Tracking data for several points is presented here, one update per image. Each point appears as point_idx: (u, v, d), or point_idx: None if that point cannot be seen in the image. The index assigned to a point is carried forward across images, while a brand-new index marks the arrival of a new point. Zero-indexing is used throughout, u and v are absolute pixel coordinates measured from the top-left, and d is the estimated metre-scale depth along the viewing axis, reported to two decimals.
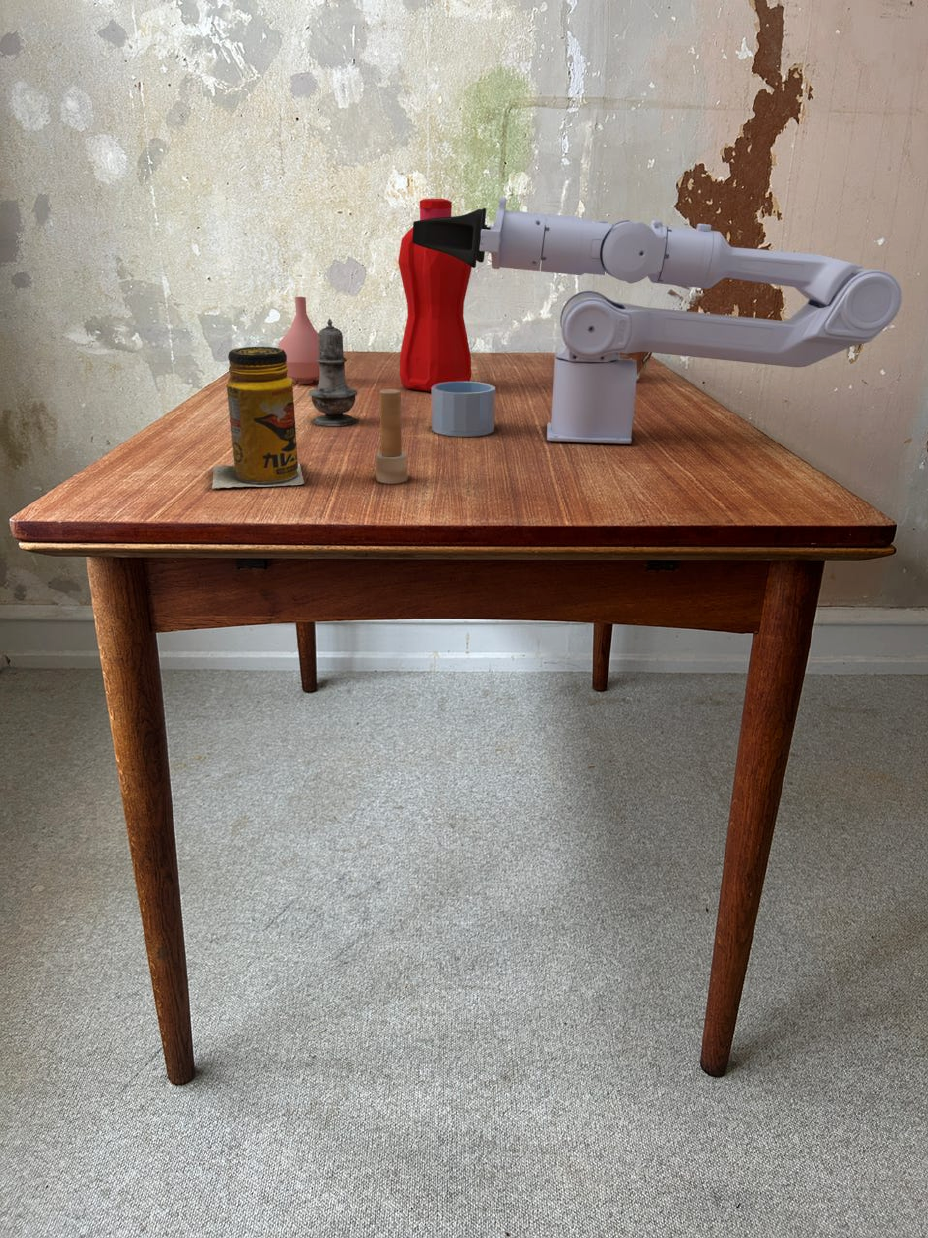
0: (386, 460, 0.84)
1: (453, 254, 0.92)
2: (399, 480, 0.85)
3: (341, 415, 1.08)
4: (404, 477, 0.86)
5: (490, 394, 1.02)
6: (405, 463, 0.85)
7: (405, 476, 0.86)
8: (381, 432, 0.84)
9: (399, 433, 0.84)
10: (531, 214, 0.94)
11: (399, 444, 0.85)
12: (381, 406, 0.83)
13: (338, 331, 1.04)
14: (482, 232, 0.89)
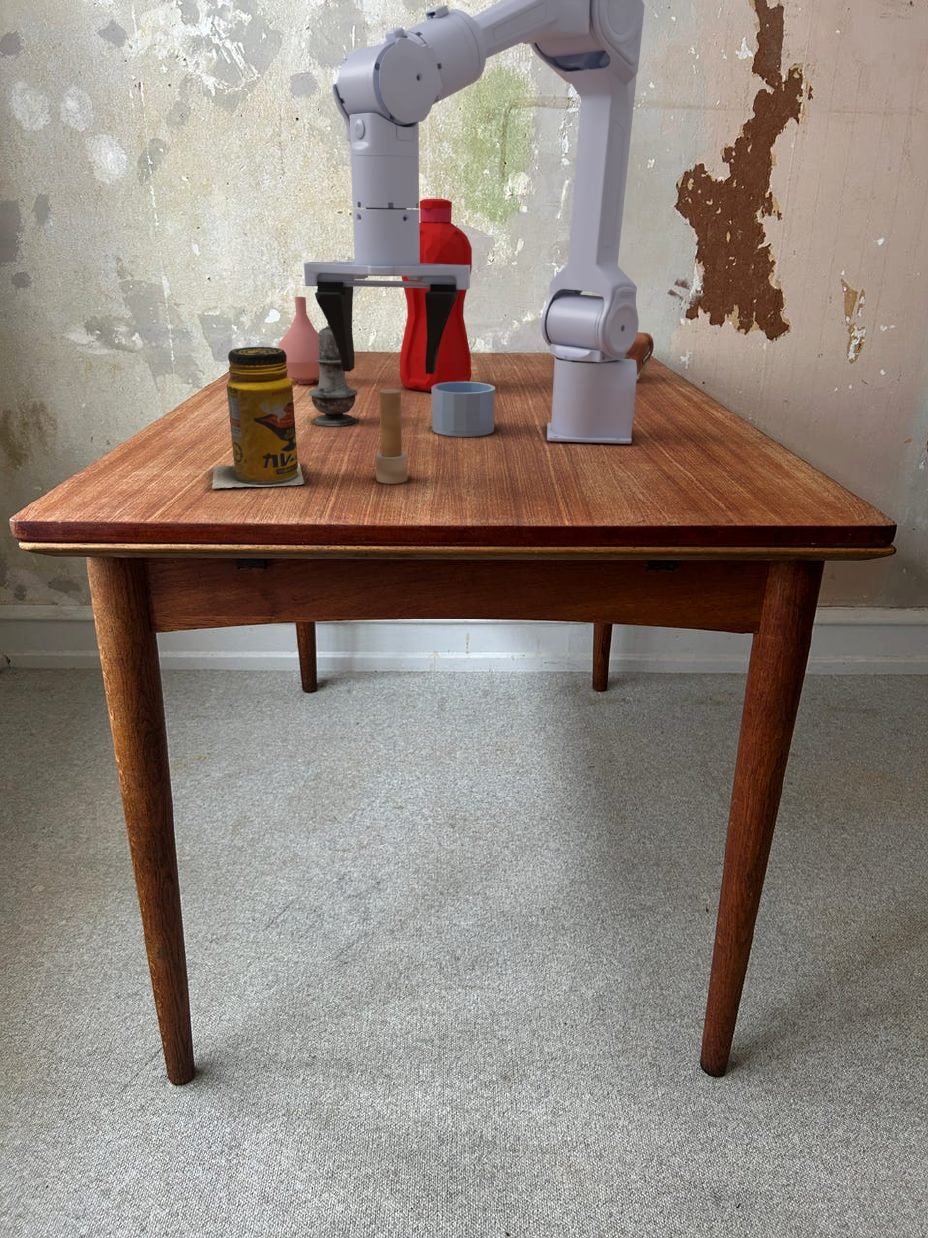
0: (386, 460, 0.84)
1: (447, 318, 0.81)
2: (399, 480, 0.85)
3: (341, 415, 1.08)
4: (404, 477, 0.86)
5: (490, 394, 1.02)
6: (405, 463, 0.85)
7: (405, 476, 0.86)
8: (381, 432, 0.84)
9: (399, 433, 0.84)
10: (391, 229, 0.75)
11: (399, 444, 0.85)
12: (381, 406, 0.83)
13: None
14: (468, 287, 0.78)
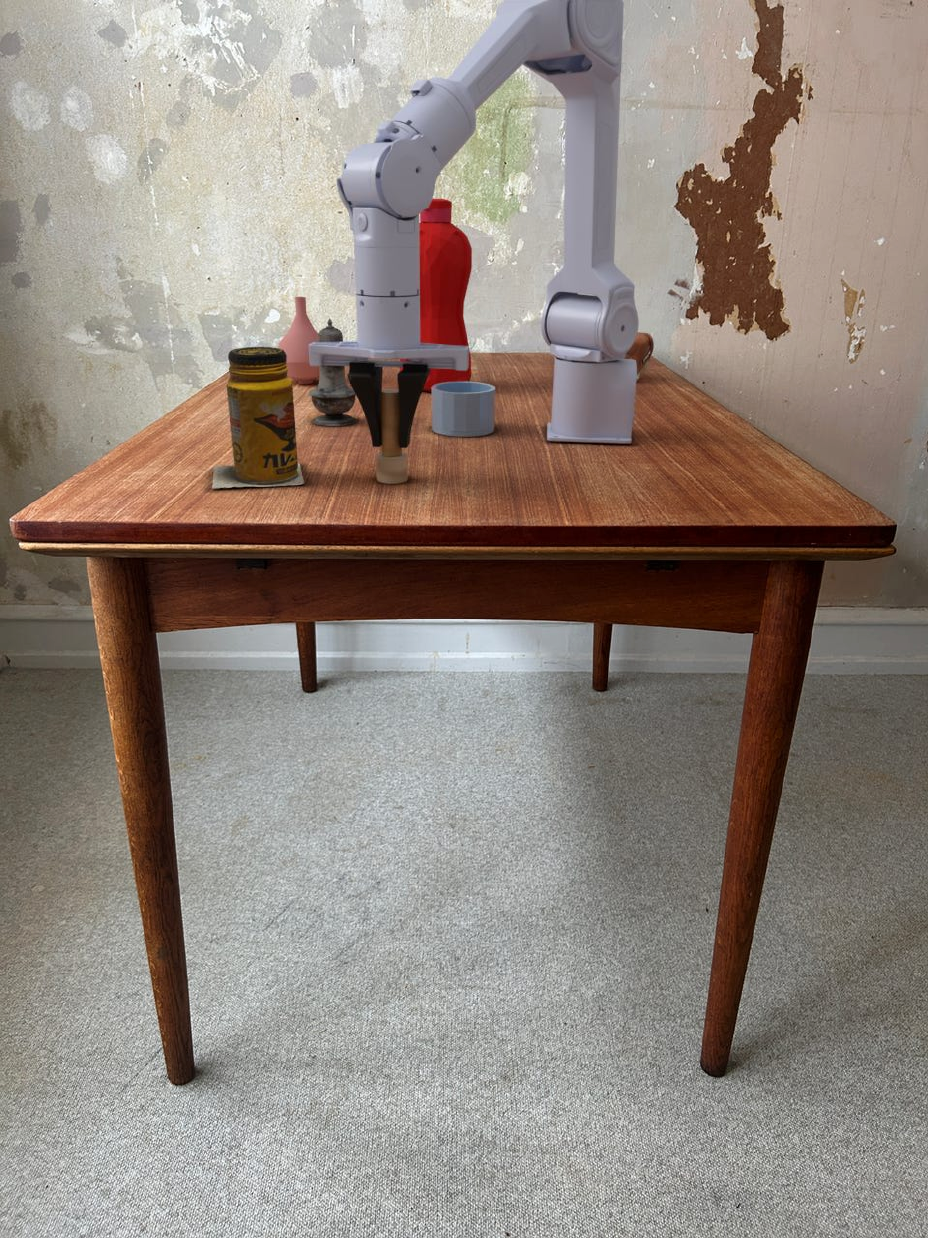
0: (387, 460, 0.84)
1: None
2: (399, 480, 0.85)
3: (341, 415, 1.08)
4: (404, 477, 0.86)
5: (490, 394, 1.02)
6: (405, 463, 0.85)
7: (405, 476, 0.86)
8: (381, 432, 0.84)
9: None
10: (393, 315, 0.77)
11: None
12: (381, 406, 0.83)
13: (338, 331, 1.04)
14: (467, 368, 0.81)
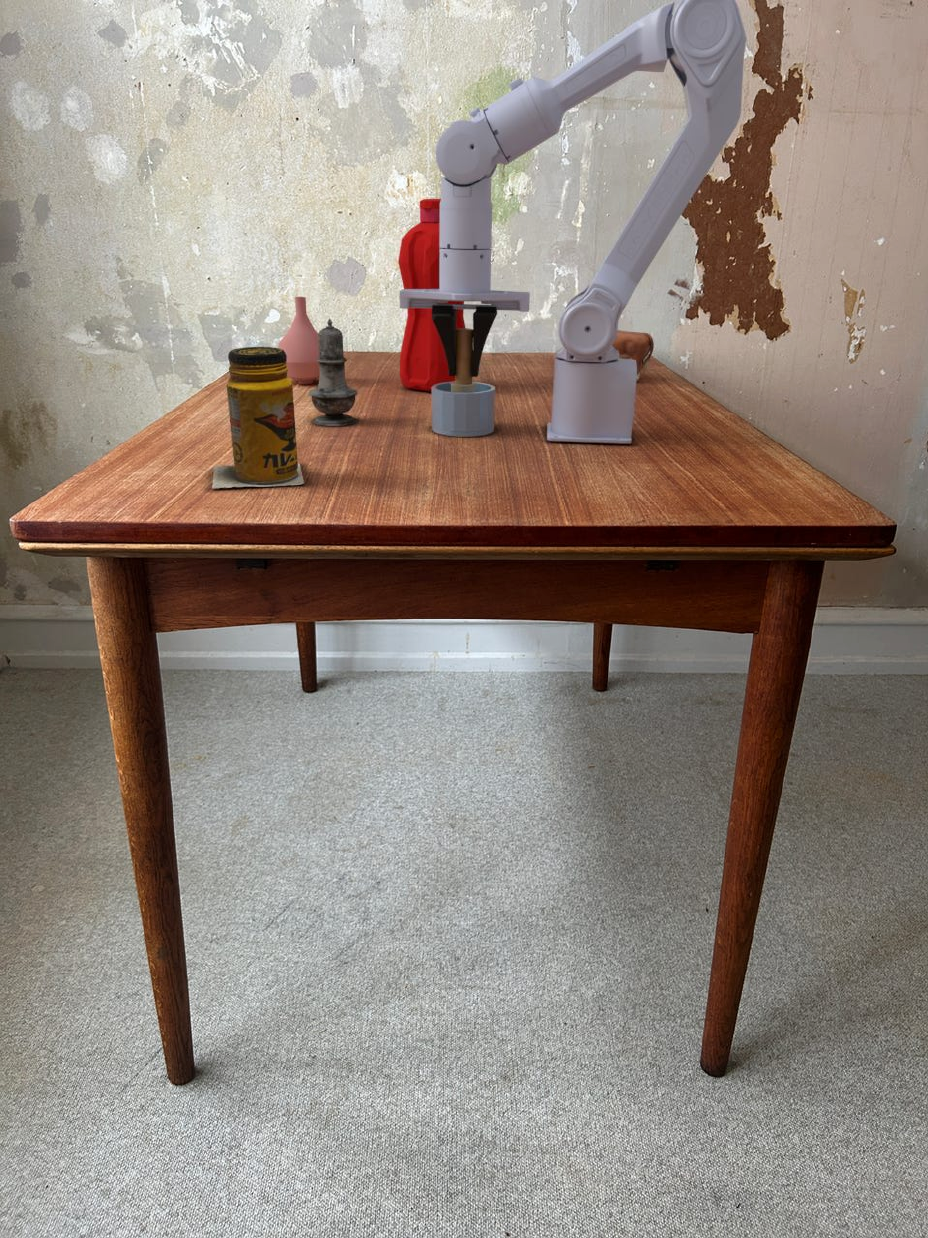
0: (460, 387, 1.02)
1: (488, 333, 1.03)
2: None
3: (341, 415, 1.08)
4: None
5: (490, 394, 1.02)
6: (475, 390, 1.04)
7: None
8: (456, 364, 1.02)
9: (471, 364, 1.02)
10: (471, 265, 0.96)
11: None
12: (457, 341, 1.01)
13: (338, 331, 1.04)
14: (528, 309, 0.99)
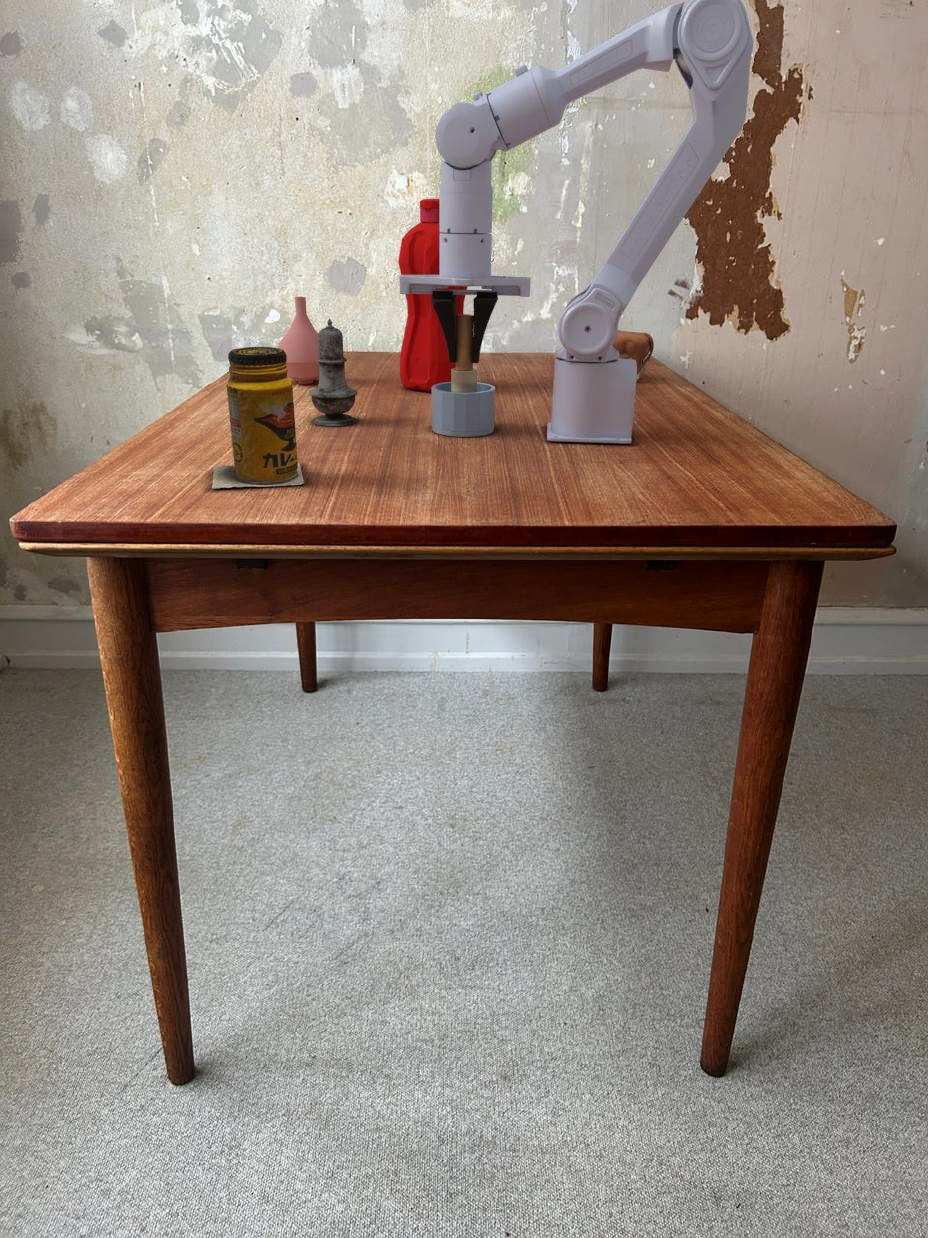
0: (461, 374, 1.02)
1: None
2: (471, 391, 1.03)
3: (341, 415, 1.08)
4: (475, 388, 1.03)
5: (490, 394, 1.02)
6: (476, 376, 1.03)
7: (475, 388, 1.03)
8: (457, 350, 1.02)
9: None
10: (471, 249, 0.95)
11: (471, 360, 1.02)
12: (457, 327, 1.01)
13: (338, 331, 1.04)
14: (529, 295, 0.98)
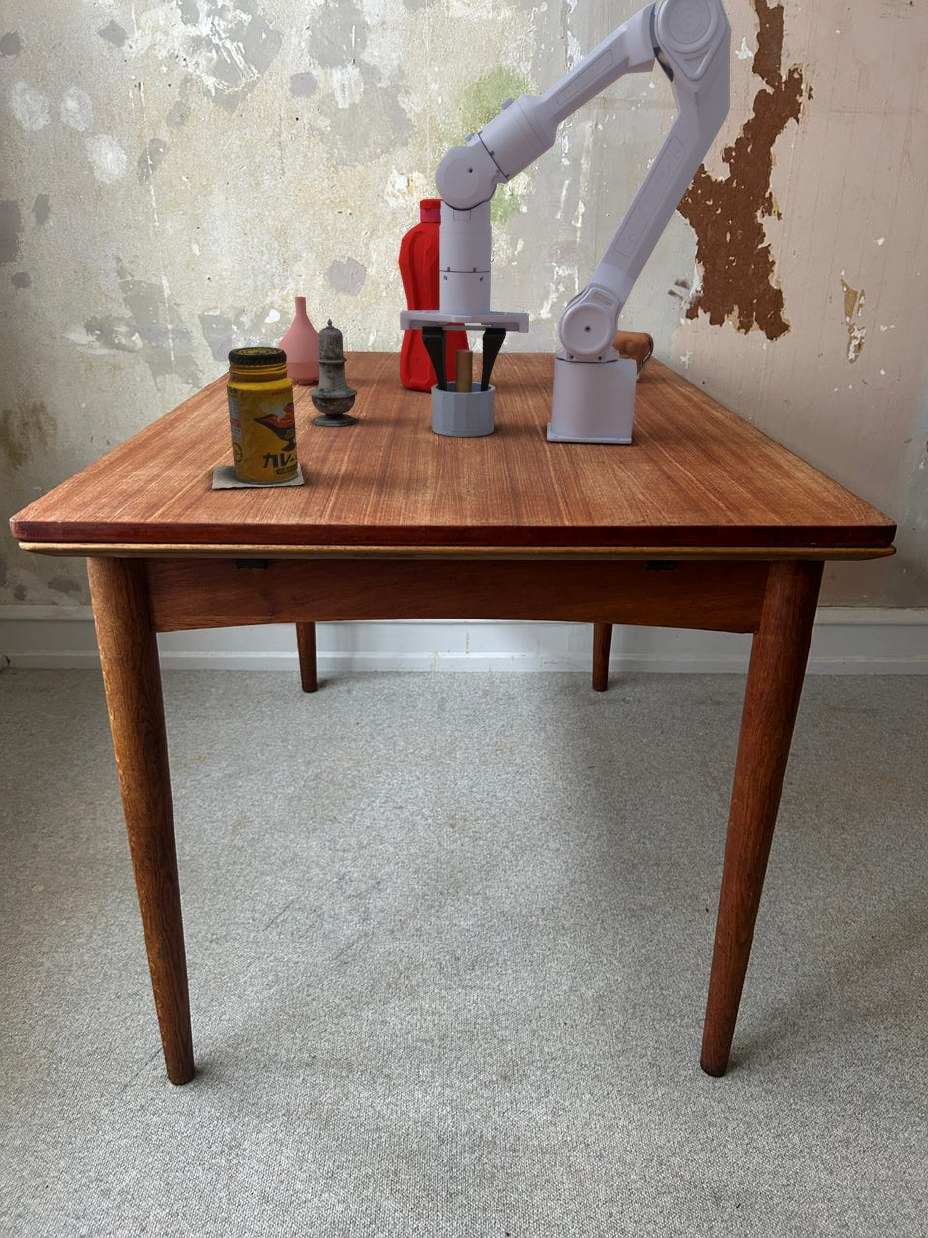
0: None
1: None
2: None
3: (341, 415, 1.08)
4: None
5: (490, 394, 1.02)
6: None
7: None
8: (456, 385, 1.03)
9: (471, 385, 1.03)
10: (471, 287, 0.97)
11: None
12: (457, 363, 1.02)
13: (338, 331, 1.04)
14: None
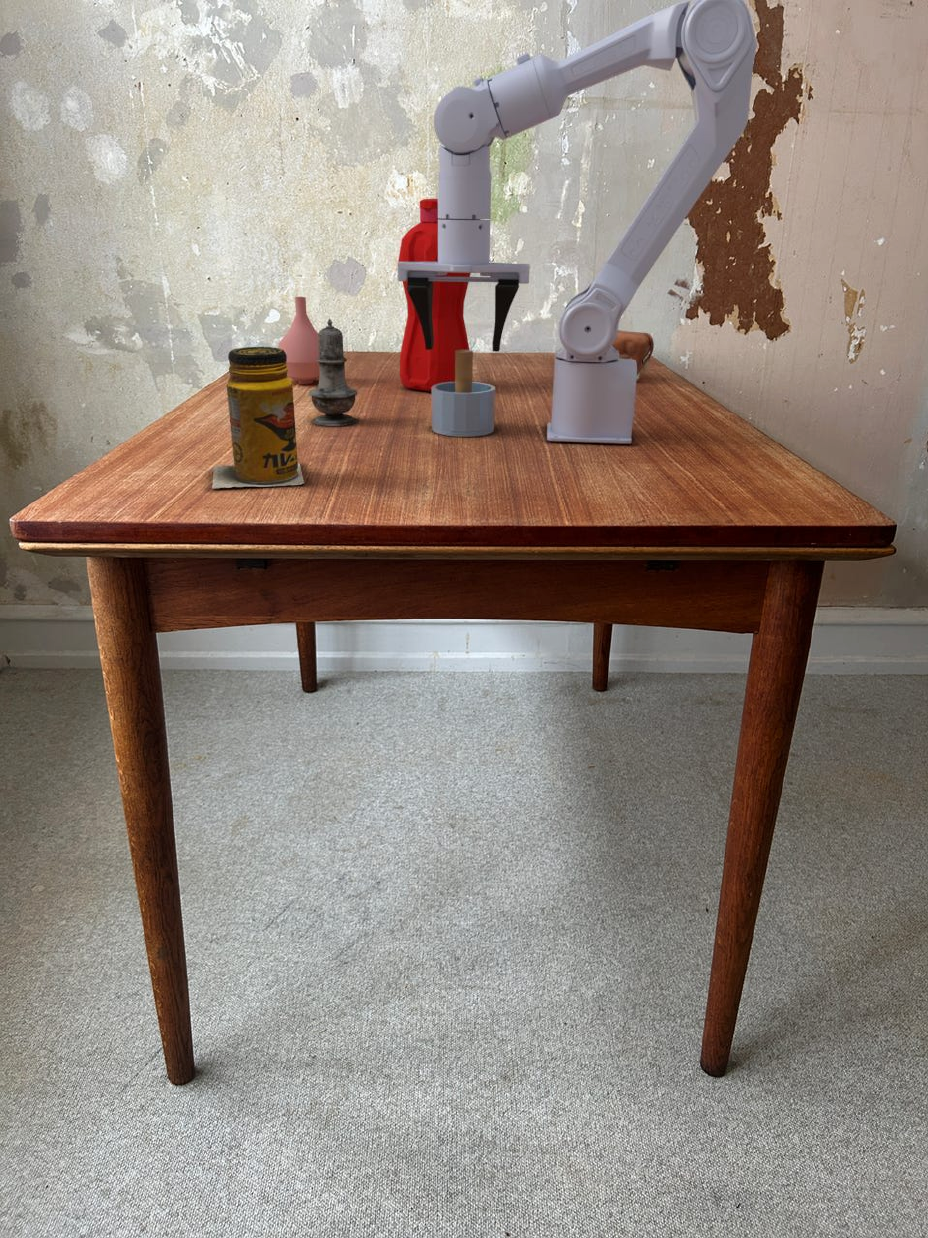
0: None
1: None
2: None
3: (341, 415, 1.08)
4: None
5: (490, 394, 1.02)
6: None
7: None
8: (456, 385, 1.03)
9: (471, 385, 1.03)
10: (470, 235, 0.94)
11: None
12: (457, 363, 1.02)
13: (338, 331, 1.04)
14: (528, 281, 0.98)
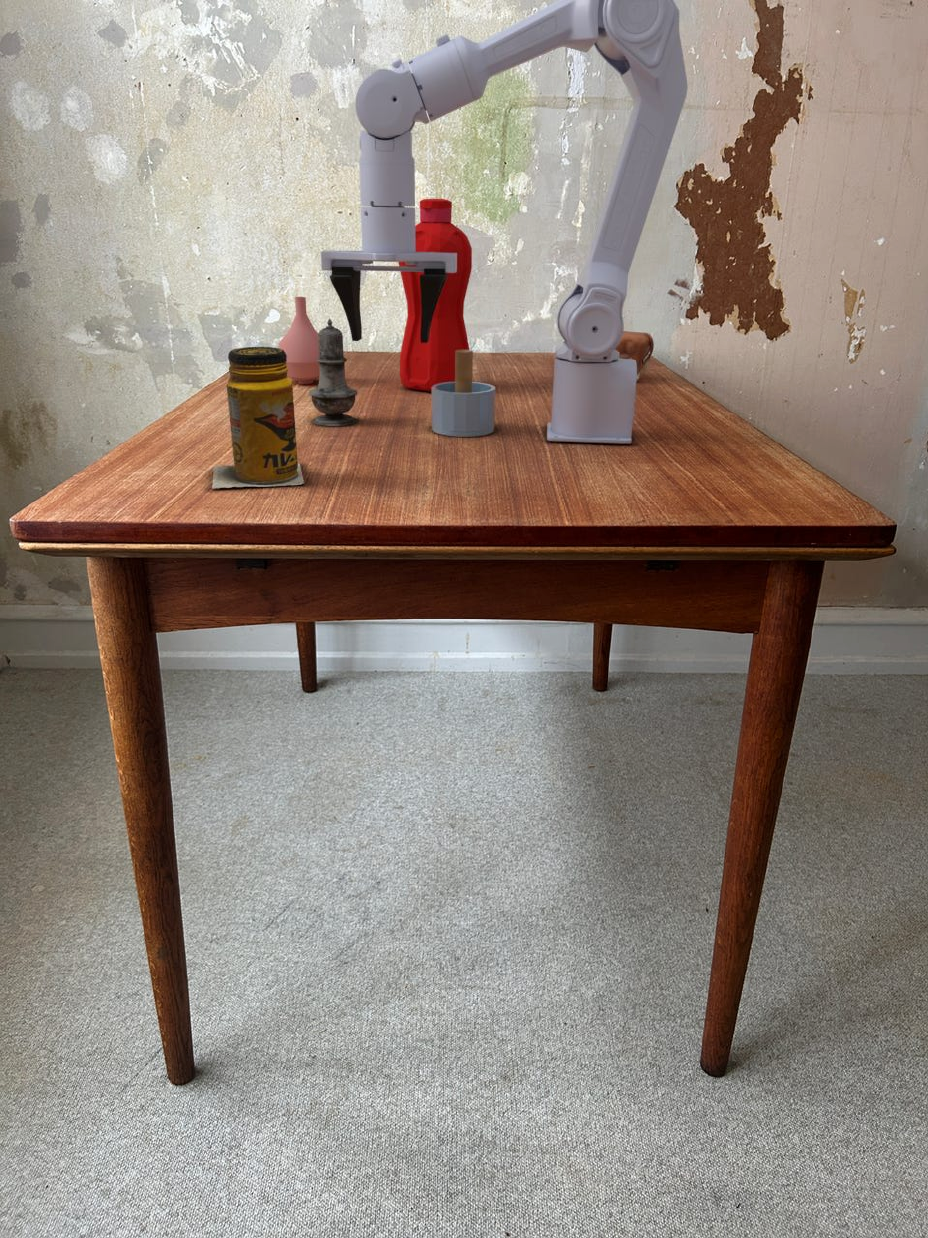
0: None
1: (438, 297, 0.99)
2: None
3: (341, 415, 1.08)
4: None
5: (490, 394, 1.02)
6: None
7: None
8: (456, 385, 1.03)
9: (471, 385, 1.03)
10: (392, 223, 0.92)
11: None
12: (457, 363, 1.02)
13: (338, 331, 1.04)
14: (455, 271, 0.95)
